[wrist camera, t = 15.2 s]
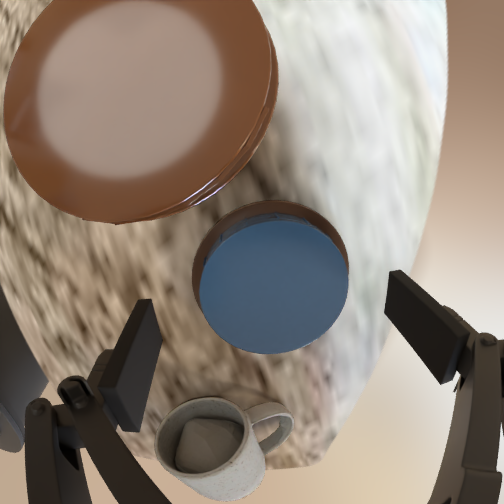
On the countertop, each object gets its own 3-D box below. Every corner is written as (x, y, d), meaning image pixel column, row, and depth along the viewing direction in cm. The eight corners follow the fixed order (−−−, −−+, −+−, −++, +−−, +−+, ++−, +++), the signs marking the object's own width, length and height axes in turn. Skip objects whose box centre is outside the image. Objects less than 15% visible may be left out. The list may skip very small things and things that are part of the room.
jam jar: (97, 154, 15) (-30, 180, 6) (152, 33, 13) (76, -60, 3) (217, 203, 17) (200, 287, 7) (277, 79, 15) (341, 2, 5)
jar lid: (284, 355, 21) (289, 371, 19) (176, 299, 19) (172, 314, 17) (364, 261, 19) (376, 272, 17) (254, 183, 16) (257, 187, 15)
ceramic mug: (196, 450, 25) (194, 512, 18) (159, 403, 22) (146, 477, 15) (298, 429, 25) (314, 494, 18) (280, 377, 22) (299, 456, 15)
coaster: (171, 312, 19) (170, 316, 19) (232, 171, 17) (232, 172, 16) (300, 356, 22) (301, 360, 21) (373, 241, 19) (375, 243, 18)
